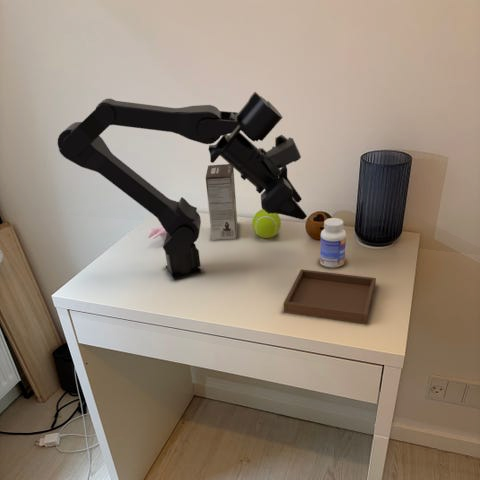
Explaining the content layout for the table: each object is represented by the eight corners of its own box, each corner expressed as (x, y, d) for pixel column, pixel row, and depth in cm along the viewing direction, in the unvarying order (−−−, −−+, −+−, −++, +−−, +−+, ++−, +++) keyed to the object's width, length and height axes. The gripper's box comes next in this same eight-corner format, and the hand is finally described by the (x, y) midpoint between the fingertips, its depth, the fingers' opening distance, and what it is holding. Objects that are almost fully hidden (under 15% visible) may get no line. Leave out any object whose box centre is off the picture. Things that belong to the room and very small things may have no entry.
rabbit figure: (177, 228, 131) (141, 242, 119) (176, 206, 128) (139, 218, 117) (196, 232, 128) (161, 247, 117) (196, 209, 126) (160, 222, 114)
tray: (283, 312, 93) (283, 302, 92) (300, 277, 103) (300, 269, 102) (365, 324, 88) (366, 314, 87) (375, 286, 98) (376, 277, 97)
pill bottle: (344, 268, 105) (347, 227, 99) (318, 267, 106) (320, 226, 100) (344, 257, 109) (347, 216, 104) (320, 256, 110) (321, 216, 105)
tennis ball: (253, 230, 124) (252, 204, 120) (281, 230, 123) (280, 203, 119) (252, 242, 118) (250, 215, 114) (280, 242, 117) (280, 215, 113)
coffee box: (213, 225, 128) (207, 164, 119) (237, 224, 128) (233, 163, 119) (211, 240, 121) (205, 176, 111) (237, 239, 120) (232, 175, 111)
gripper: (278, 139, 83) (339, 197, 89) (272, 115, 99) (324, 165, 105) (235, 187, 88) (296, 238, 94) (236, 156, 103) (288, 202, 109)
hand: (302, 208), depth 100 cm, fingers open, 9 cm apart
